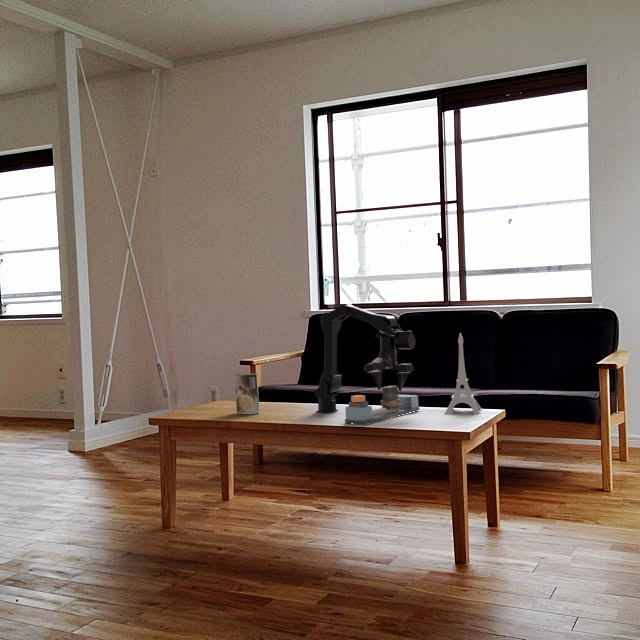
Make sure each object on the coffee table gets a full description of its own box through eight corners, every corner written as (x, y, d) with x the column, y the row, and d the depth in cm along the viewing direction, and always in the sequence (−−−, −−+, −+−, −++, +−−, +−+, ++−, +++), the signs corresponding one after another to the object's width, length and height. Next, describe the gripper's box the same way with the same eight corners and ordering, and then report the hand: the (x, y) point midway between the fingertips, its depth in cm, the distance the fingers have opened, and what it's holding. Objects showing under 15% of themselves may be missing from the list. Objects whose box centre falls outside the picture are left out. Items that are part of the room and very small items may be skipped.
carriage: (380, 409, 297) (379, 387, 297) (389, 407, 302) (388, 385, 302) (392, 410, 294) (391, 387, 294) (400, 408, 299) (399, 386, 299)
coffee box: (259, 412, 322) (258, 372, 322) (259, 414, 316) (257, 374, 315) (237, 413, 322) (235, 373, 322) (236, 415, 315) (234, 375, 315)
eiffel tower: (447, 409, 307) (444, 333, 307) (481, 409, 304) (479, 332, 304) (444, 414, 294) (441, 334, 294) (480, 414, 291) (477, 333, 291)
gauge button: (351, 401, 281) (351, 396, 281) (357, 400, 284) (356, 395, 284) (359, 402, 279) (359, 396, 279) (365, 401, 282) (365, 395, 282)
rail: (344, 423, 282) (344, 402, 282) (399, 409, 311) (399, 390, 311) (365, 424, 277) (364, 403, 277) (419, 410, 306) (418, 391, 306)
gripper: (355, 350, 297) (357, 391, 297) (397, 350, 285) (399, 393, 286) (372, 348, 306) (373, 388, 306) (413, 348, 294) (415, 390, 295)
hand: (389, 390), depth 298 cm, fingers open, 9 cm apart
